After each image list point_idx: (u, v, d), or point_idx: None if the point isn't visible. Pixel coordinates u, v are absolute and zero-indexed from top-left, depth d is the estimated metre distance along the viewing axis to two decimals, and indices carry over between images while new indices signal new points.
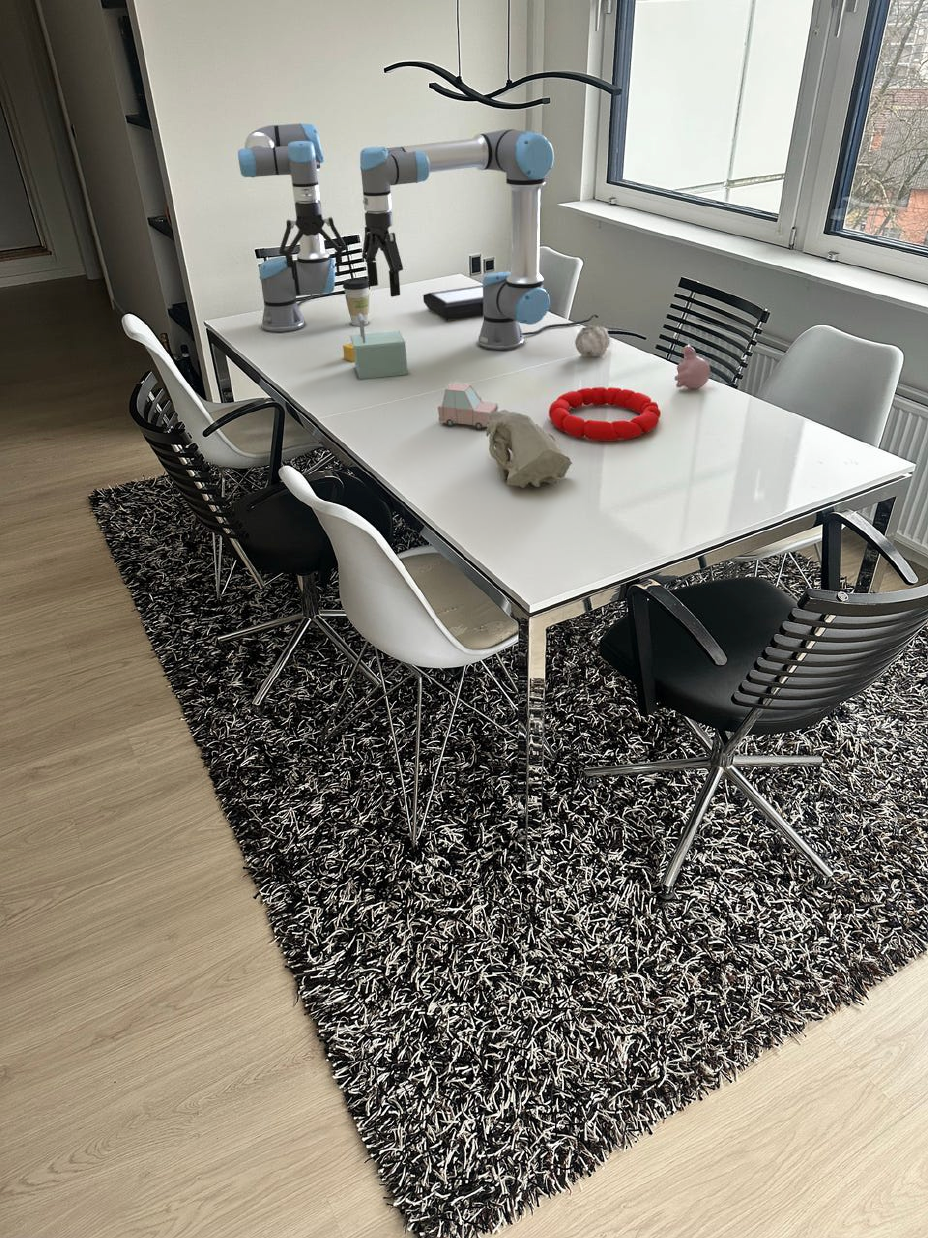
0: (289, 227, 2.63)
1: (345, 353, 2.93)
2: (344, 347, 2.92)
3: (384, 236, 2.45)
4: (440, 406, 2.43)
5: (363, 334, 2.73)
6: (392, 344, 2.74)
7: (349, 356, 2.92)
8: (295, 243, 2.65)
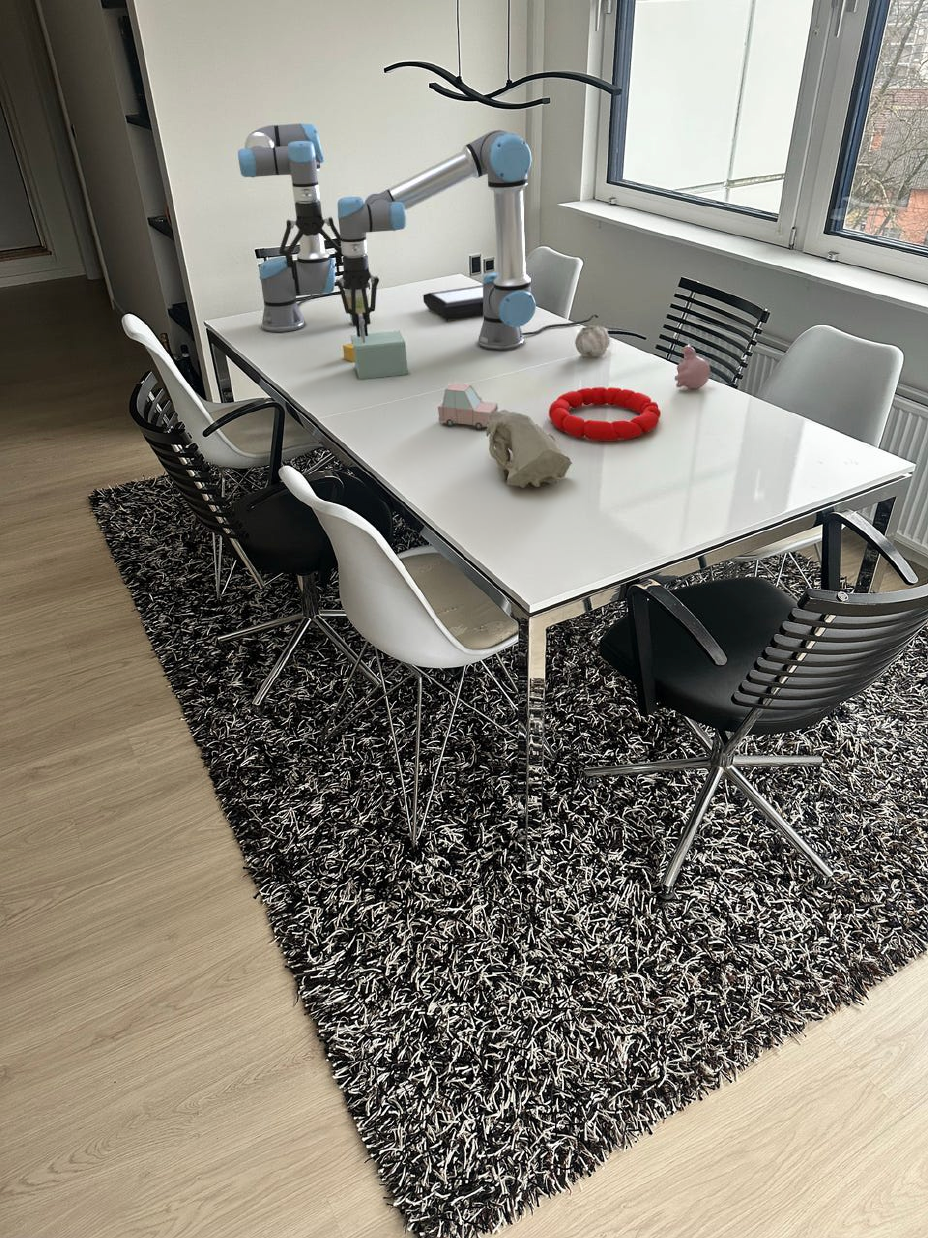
0: (289, 227, 2.63)
1: (345, 353, 2.93)
2: (344, 347, 2.92)
3: (370, 275, 2.66)
4: (440, 406, 2.43)
5: (363, 334, 2.73)
6: (392, 344, 2.74)
7: (349, 356, 2.92)
8: (295, 243, 2.65)
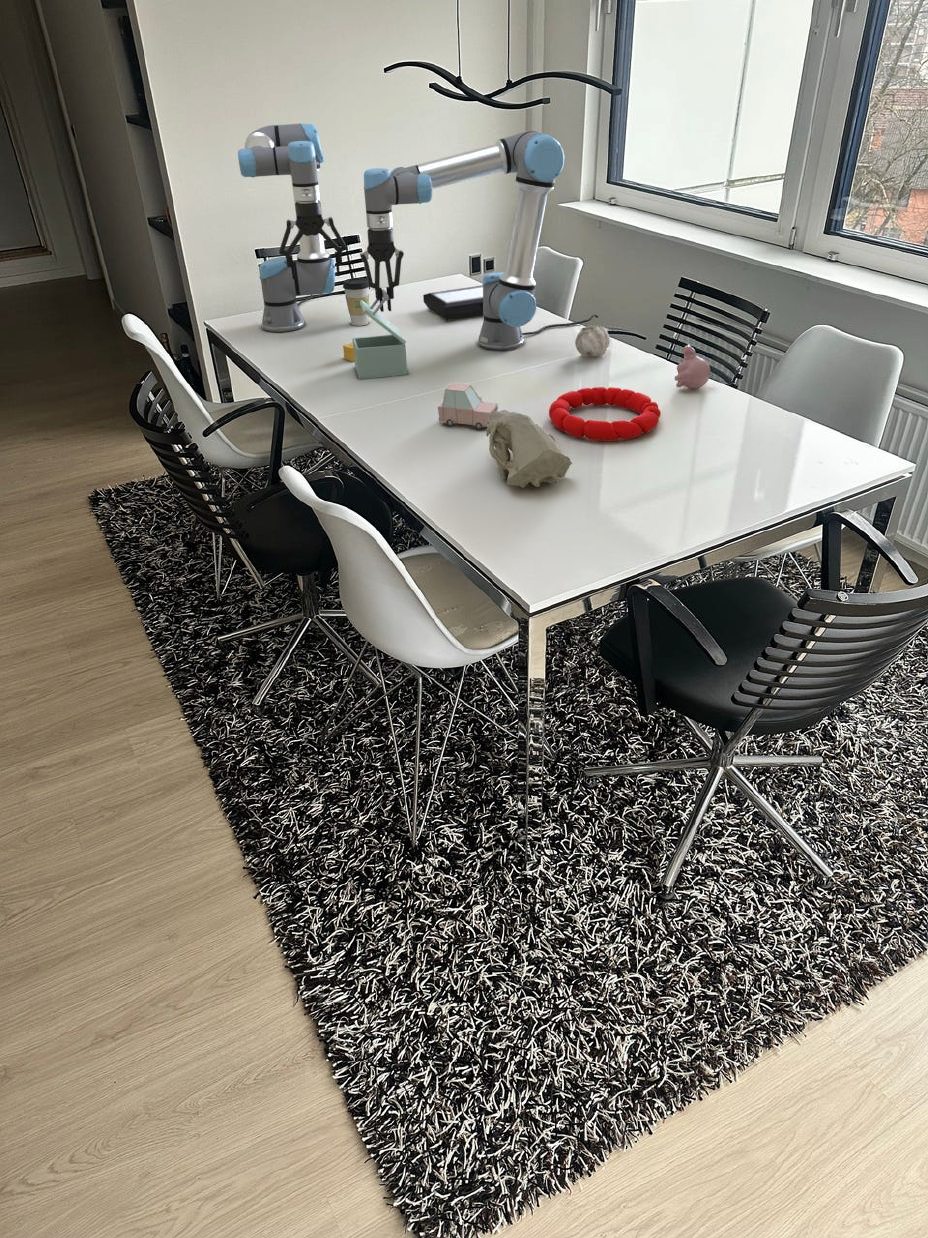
0: (289, 227, 2.63)
1: (345, 353, 2.93)
2: (344, 347, 2.92)
3: (395, 248, 2.63)
4: (440, 406, 2.43)
5: (378, 307, 2.69)
6: (395, 335, 2.72)
7: (349, 356, 2.92)
8: (295, 243, 2.65)
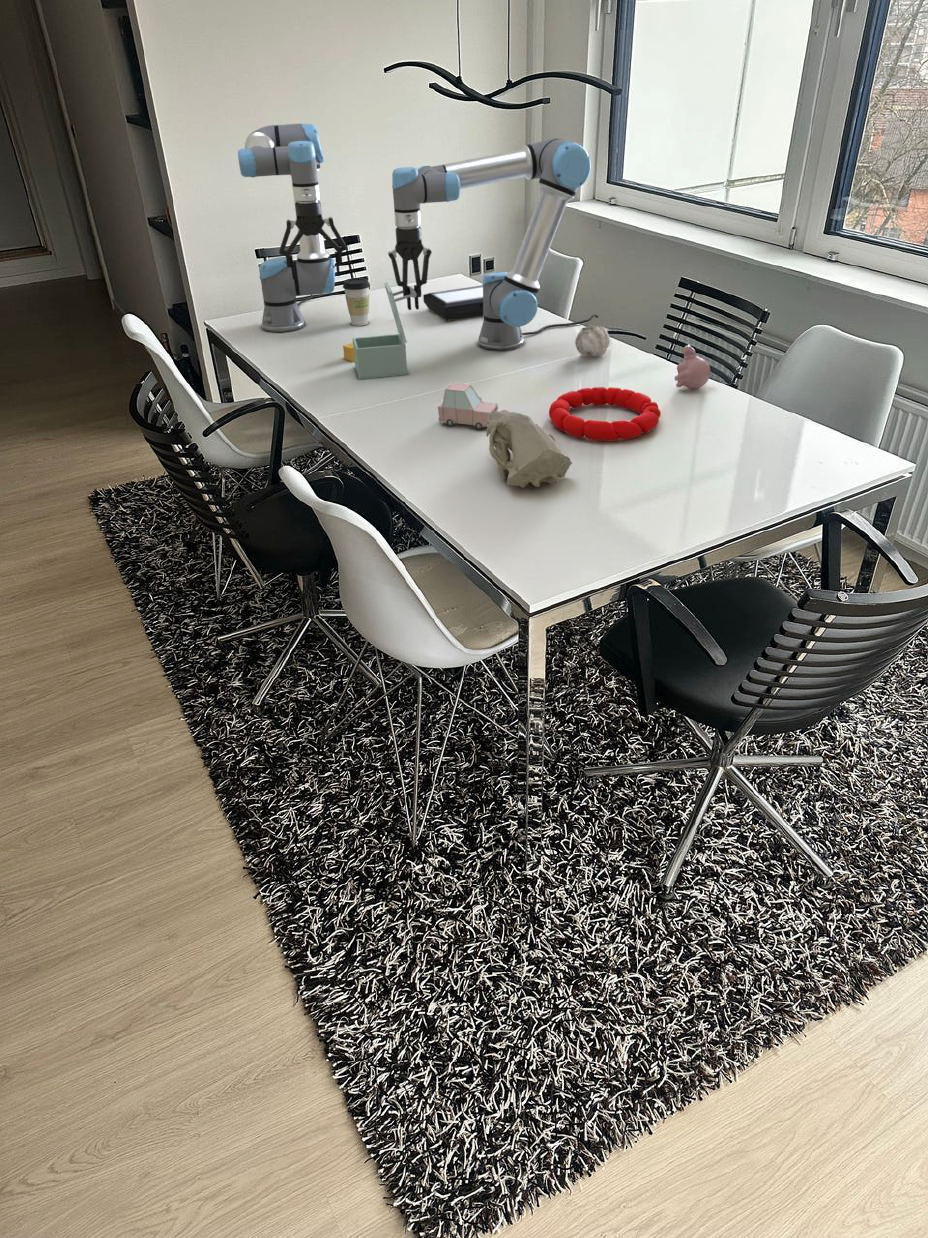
0: (289, 227, 2.63)
1: (345, 353, 2.93)
2: (344, 347, 2.92)
3: (423, 247, 2.65)
4: (440, 406, 2.43)
5: (402, 298, 2.69)
6: (401, 330, 2.72)
7: (349, 356, 2.92)
8: (295, 243, 2.65)
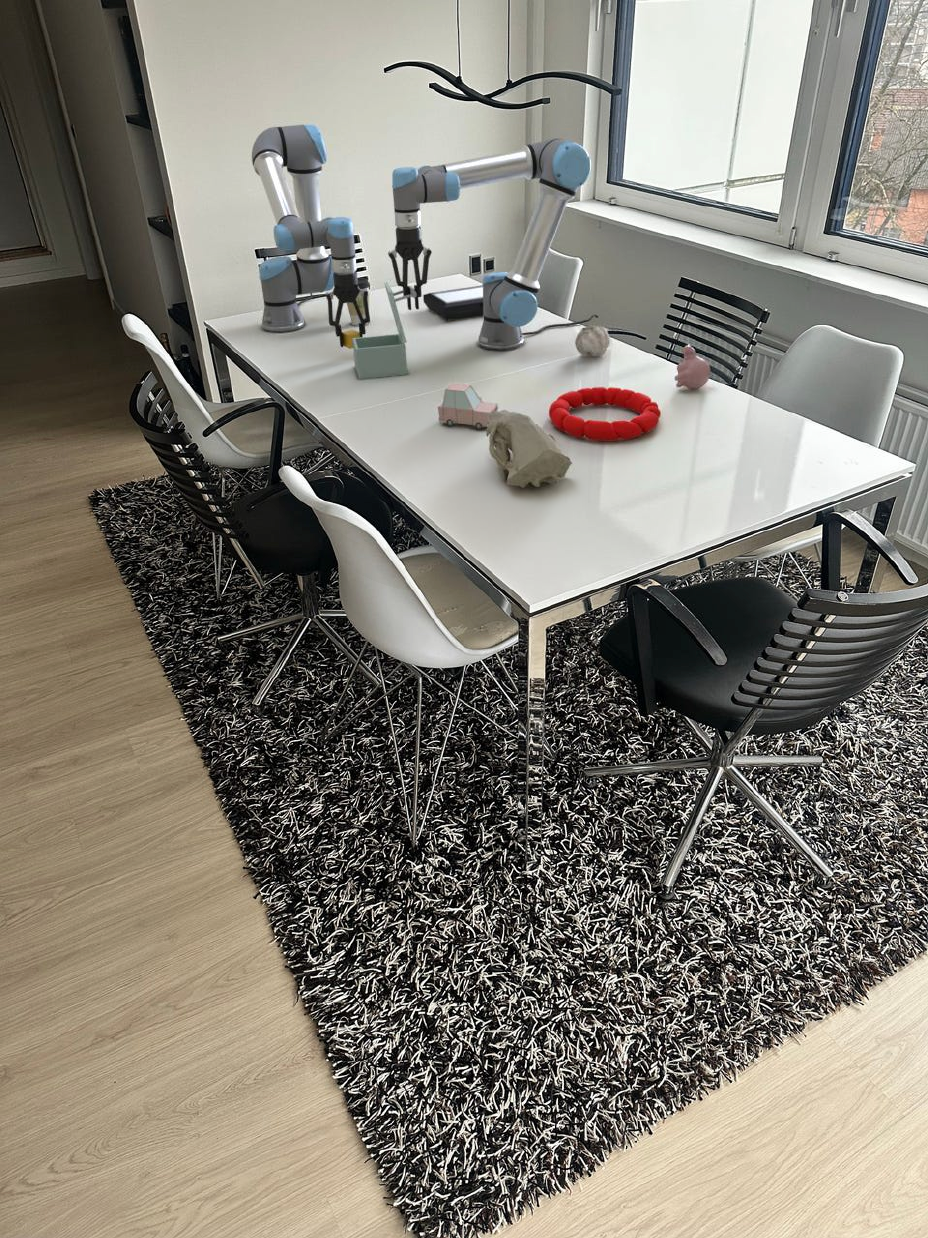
0: (330, 299, 2.81)
1: (343, 340, 2.91)
2: (342, 334, 2.90)
3: (423, 247, 2.65)
4: (440, 406, 2.43)
5: (402, 298, 2.69)
6: (401, 330, 2.72)
7: (347, 343, 2.90)
8: (340, 313, 2.84)
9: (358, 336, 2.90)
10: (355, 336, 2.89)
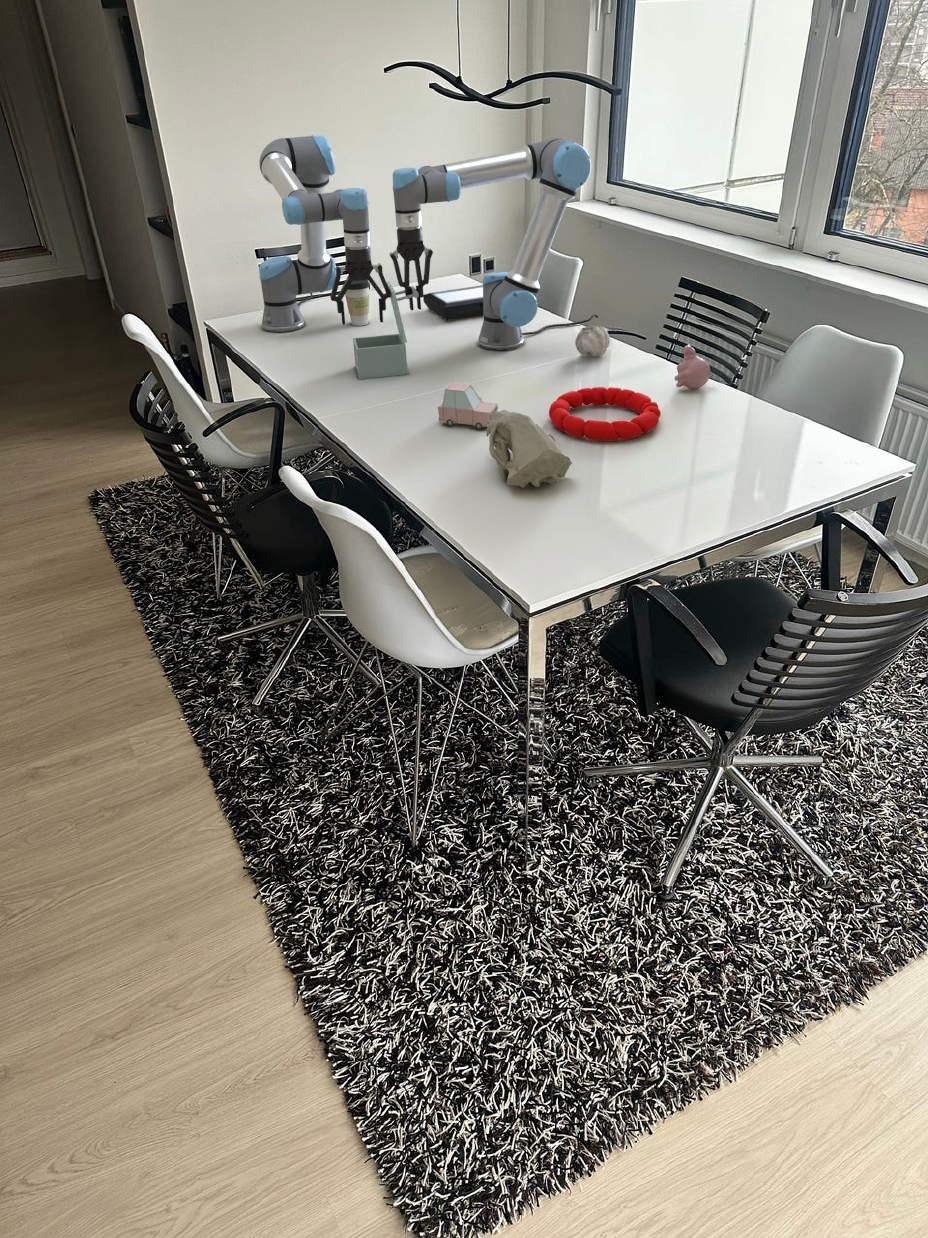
0: (339, 273, 2.64)
1: None
2: None
3: (424, 247, 2.65)
4: (440, 406, 2.43)
5: (404, 297, 2.69)
6: (402, 330, 2.72)
7: None
8: (346, 289, 2.67)
9: None
10: None
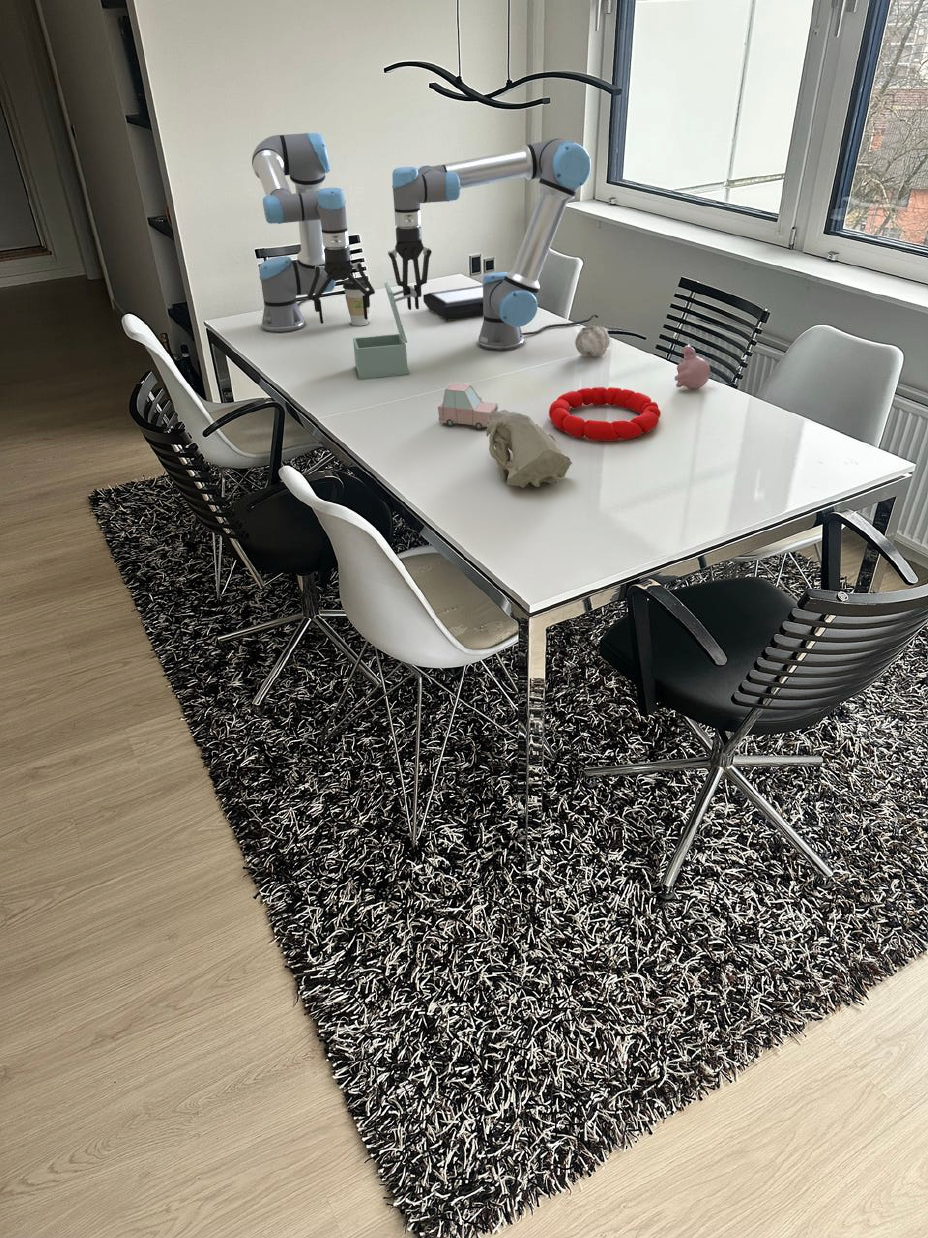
0: (318, 273, 2.62)
1: None
2: None
3: (423, 246, 2.65)
4: (440, 406, 2.43)
5: (402, 298, 2.69)
6: (401, 330, 2.72)
7: None
8: (324, 288, 2.65)
9: None
10: None
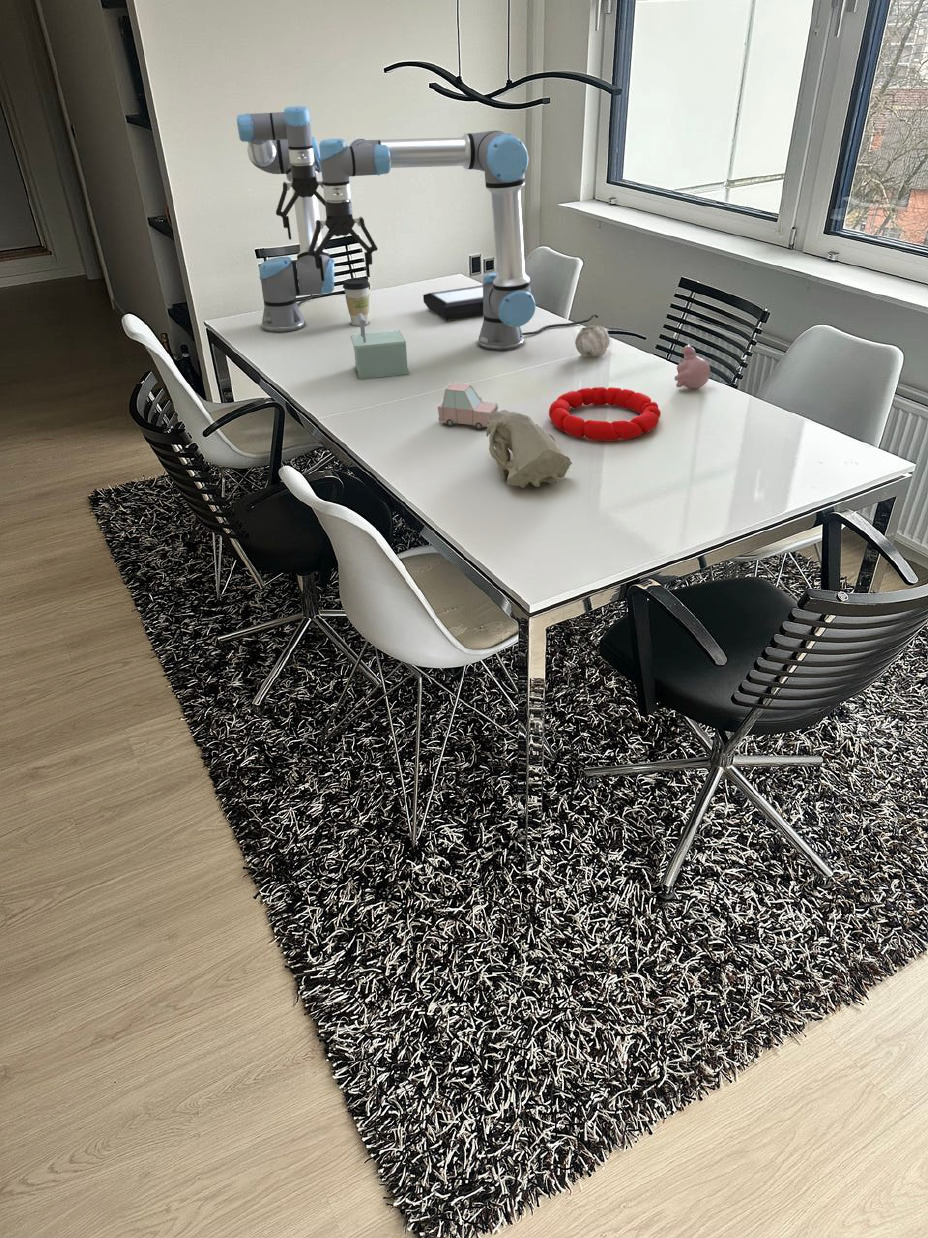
0: (285, 189, 2.77)
1: None
2: None
3: (354, 222, 2.57)
4: (440, 406, 2.43)
5: (364, 334, 2.73)
6: (393, 344, 2.74)
7: None
8: (291, 204, 2.80)
9: None
10: None
